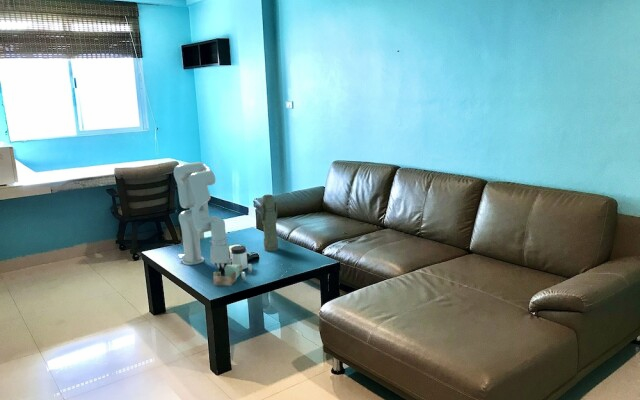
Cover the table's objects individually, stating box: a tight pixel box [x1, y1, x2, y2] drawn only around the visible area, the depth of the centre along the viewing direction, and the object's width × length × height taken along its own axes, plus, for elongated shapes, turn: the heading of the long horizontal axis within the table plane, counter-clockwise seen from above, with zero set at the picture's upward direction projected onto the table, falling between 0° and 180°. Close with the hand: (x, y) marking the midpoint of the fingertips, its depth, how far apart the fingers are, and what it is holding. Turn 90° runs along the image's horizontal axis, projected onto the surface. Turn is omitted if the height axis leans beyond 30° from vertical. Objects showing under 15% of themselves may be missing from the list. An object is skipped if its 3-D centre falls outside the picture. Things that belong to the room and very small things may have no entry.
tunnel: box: [212, 264, 243, 286], centre depth 266 cm, size 12×18×4 cm, turn 171°
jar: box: [230, 245, 248, 271], centre depth 281 cm, size 9×8×12 cm
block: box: [224, 263, 241, 279], centre depth 268 cm, size 6×6×6 cm
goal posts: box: [240, 263, 253, 283], centre depth 267 cm, size 2×14×5 cm, turn 171°
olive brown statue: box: [259, 194, 279, 253], centre depth 309 cm, size 9×12×35 cm
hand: (222, 274), depth 269 cm, fingers closed
